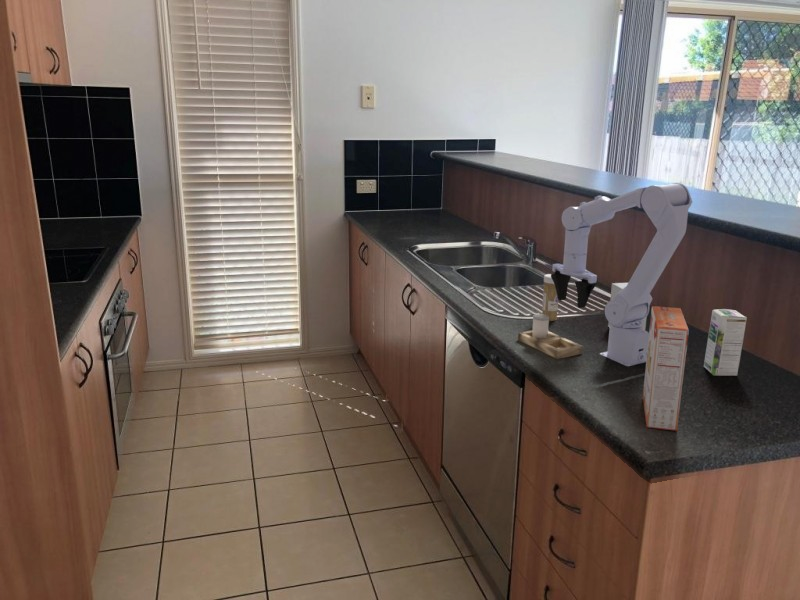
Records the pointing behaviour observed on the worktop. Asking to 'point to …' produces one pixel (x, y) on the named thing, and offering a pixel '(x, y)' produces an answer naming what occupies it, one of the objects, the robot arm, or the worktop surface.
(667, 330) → the cracker box
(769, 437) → the worktop surface
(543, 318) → the salt shaker
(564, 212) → the robot arm
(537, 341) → the caddy
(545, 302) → the sprinkles bottle
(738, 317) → the syrup box
